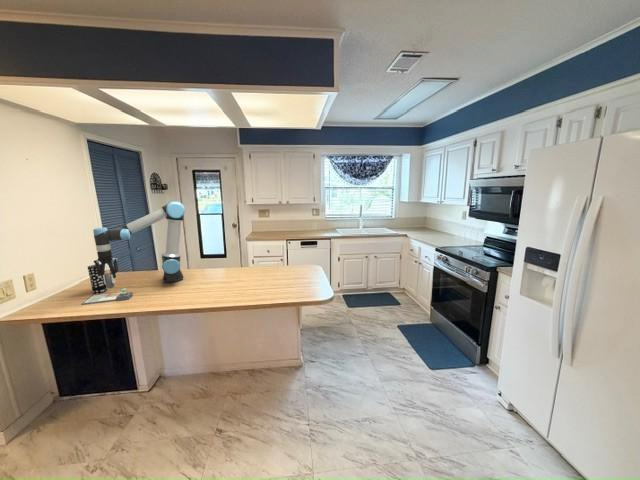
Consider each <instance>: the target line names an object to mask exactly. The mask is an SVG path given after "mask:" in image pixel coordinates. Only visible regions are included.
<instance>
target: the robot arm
mask: <svg viewBox="0 0 640 480" xmlns="http://www.w3.org/2000/svg"><path fill="white" fill-rule="evenodd" d="M185 212H186V209H185V205H184V204H182V203H181V202H180V201H177V200H172V201H170V202H168V203H167V204H165V205H164V206H161V207H160V209H157V210H155V211H154V212H150V213H149V214H146V215H144V216H142V217H140V218H137V219H136V220H133V221H131V222H129V223H126V224H124V225H122V226H119V227H117V228H116V229H109V230H108V228H107V227H95V228H94V229H93V231H92V232H93V238H94V242H95V244H94V245H95V248H96V251H97V252H96V254H97V259H95V260H93V263H94V265H96V269H97V273H98V274H101V276H102V279H104V283H105V284H106V278H105V274H104V271H106V265H107V266H108V268H109V270H111V272H112V274H111V278H112V283H114V284H115V283H116V278H117V275H116V273H118V272H119V266H118V260H119V259H118V258H117V257H116V258H115V257H113V253H112V250H111V244H110V242H115V241H116V242H117V241H127V240H130V239H131V235H132V234H135V233H137V232H139V231H140V230H143V229H145V228H148V227H150V226H151V225H154V224H155V223H159V222H160V221H162V220H166V221H167V228H166V229H167V231H166V241H165V242H166V243H165V253H162V254H161V259H162V260H161V261H162V264H161V268H162V270H163V276H162V283H164V284H172V283H177V282H180V281H183V280H184V279H185V277H184V276H185V275H184V274H183V272H182V270H181V257H182V256H181V254H180V253H179V252H180V241H181V240H180V237H181V229H182V228H181V227H182V226H181V225H182V223H183V221H184V217H185ZM112 262H113V263H112ZM99 264H101V269H100V265H99ZM183 278H184V279H183ZM182 279H183V280H182ZM106 285H107V284H106Z"/></svg>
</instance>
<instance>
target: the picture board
mask: <svg viewBox="0 0 640 480" xmlns="http://www.w3.org/2000/svg"><path fill="white" fill-rule="evenodd" d="M120 293H122V291H117V292H109V293H100V294H92V295H91V296H90V297H88V298H87V299H85V301H83V302H82V303H81V306H83V305H93V304H101V303H110V302H118V301H117V299H116V297H117V296H118V295H119V294H120Z"/></svg>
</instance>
